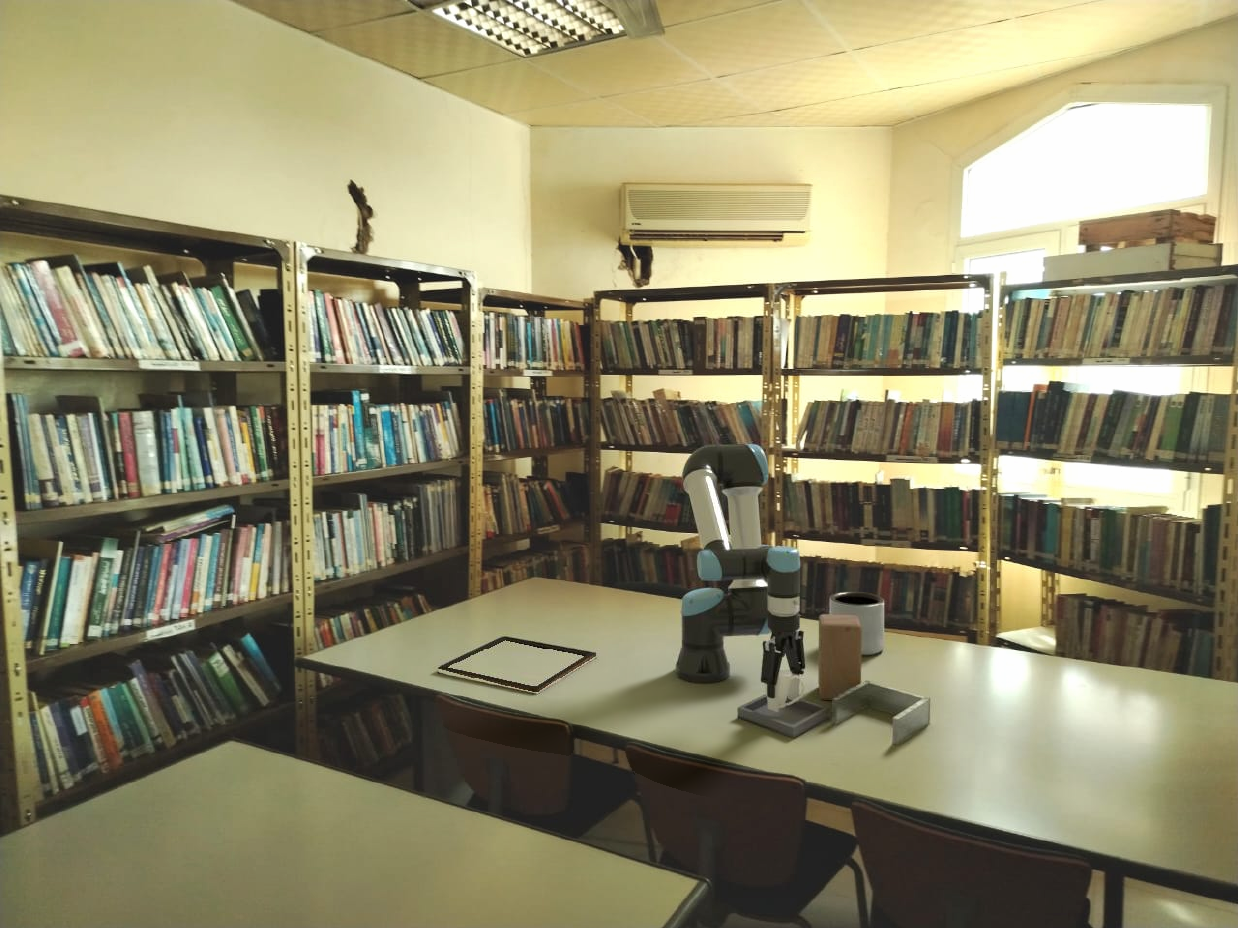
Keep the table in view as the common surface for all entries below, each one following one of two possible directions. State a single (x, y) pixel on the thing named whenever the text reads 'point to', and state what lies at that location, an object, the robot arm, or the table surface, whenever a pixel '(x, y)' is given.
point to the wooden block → (839, 654)
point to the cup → (785, 687)
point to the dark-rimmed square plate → (586, 654)
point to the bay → (885, 707)
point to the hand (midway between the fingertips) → (783, 704)
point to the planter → (863, 617)
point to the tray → (784, 716)
